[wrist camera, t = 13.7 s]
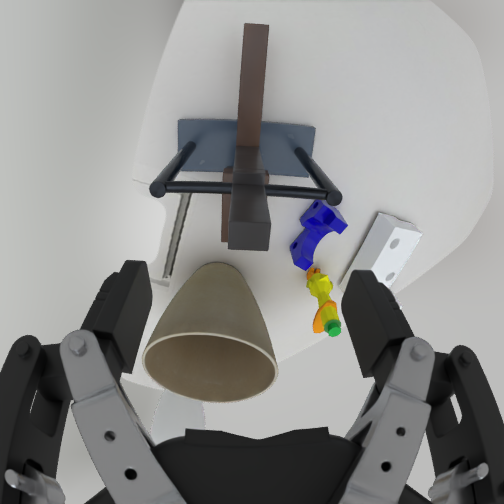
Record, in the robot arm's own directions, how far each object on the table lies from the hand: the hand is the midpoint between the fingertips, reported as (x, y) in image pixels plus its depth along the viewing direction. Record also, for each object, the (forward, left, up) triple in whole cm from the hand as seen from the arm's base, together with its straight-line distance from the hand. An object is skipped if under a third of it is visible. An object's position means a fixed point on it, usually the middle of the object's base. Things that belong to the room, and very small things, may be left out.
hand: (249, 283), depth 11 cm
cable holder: (+10, +9, -24) cm, 27 cm away
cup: (+44, -10, -24) cm, 51 cm away
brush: (-3, 0, -18) cm, 18 cm away
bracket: (+14, +21, -24) cm, 35 cm away
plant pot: (+20, -3, -24) cm, 31 cm away
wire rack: (0, 0, -24) cm, 24 cm away
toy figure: (+18, +11, -24) cm, 32 cm away
